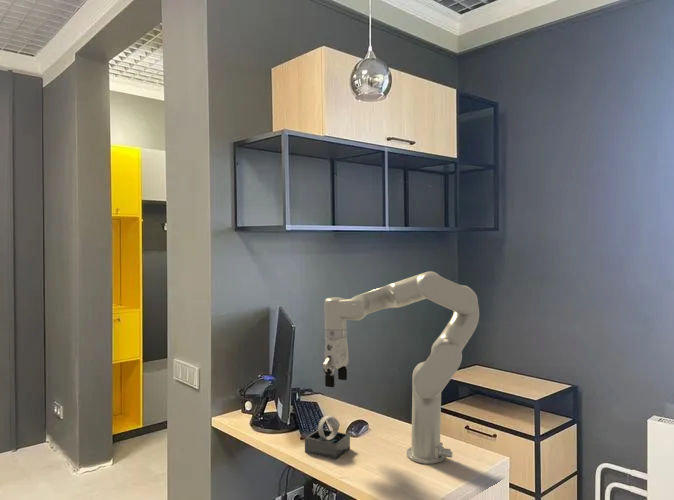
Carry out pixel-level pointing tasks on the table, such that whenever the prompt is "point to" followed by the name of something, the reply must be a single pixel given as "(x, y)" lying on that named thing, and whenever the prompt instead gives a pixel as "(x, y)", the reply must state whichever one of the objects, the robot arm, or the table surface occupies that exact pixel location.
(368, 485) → the table surface
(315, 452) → the open box
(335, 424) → the watch
